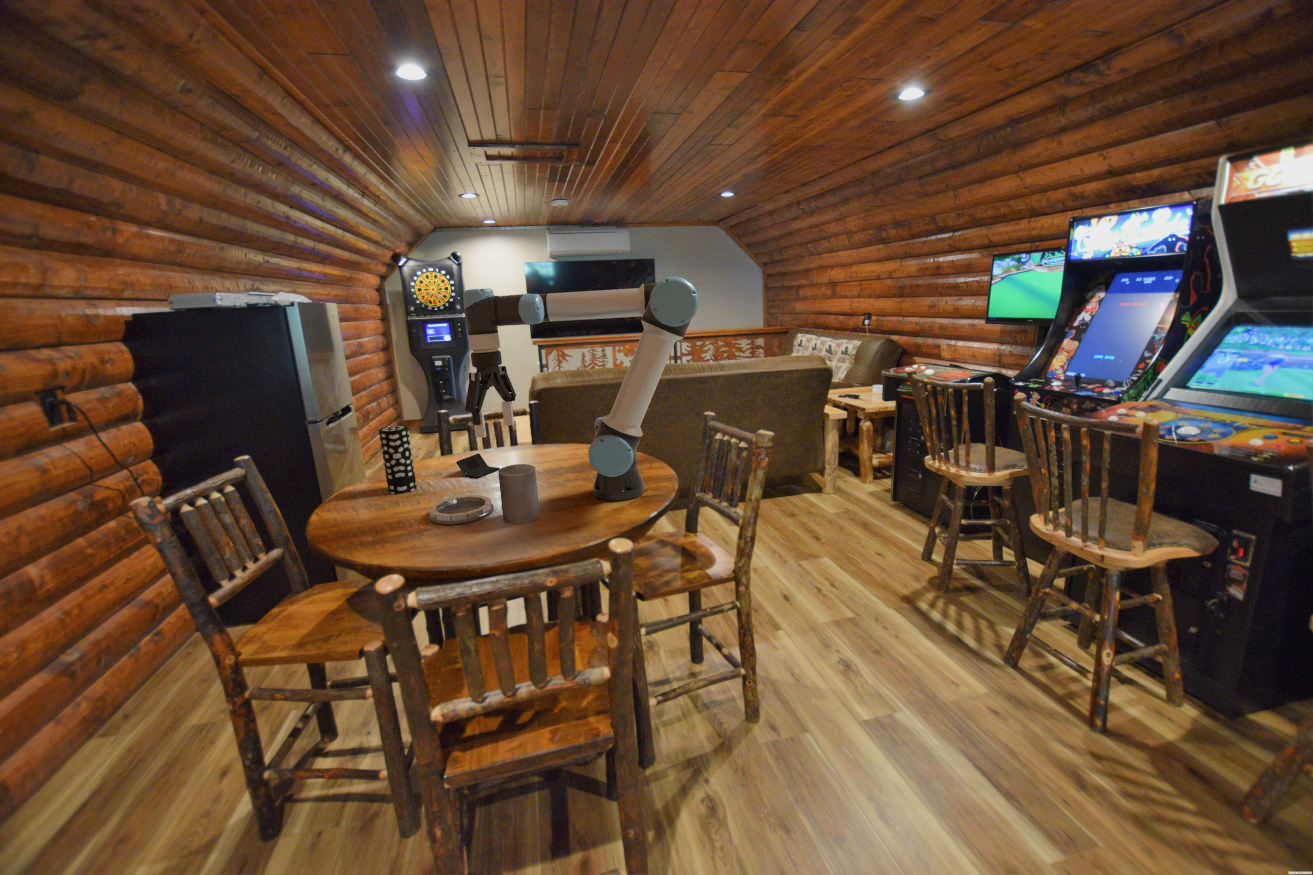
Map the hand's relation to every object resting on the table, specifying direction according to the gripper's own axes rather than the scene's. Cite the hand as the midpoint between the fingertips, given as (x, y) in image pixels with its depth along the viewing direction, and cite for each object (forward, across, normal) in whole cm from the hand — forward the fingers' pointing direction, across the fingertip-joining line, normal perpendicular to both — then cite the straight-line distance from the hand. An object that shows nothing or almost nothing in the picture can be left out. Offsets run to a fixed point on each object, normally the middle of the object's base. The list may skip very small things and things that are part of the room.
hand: (495, 430), depth 154 cm
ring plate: (+23, +3, -12) cm, 26 cm away
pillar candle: (+24, +2, +6) cm, 25 cm away
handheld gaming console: (+23, -32, -30) cm, 50 cm away
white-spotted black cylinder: (+23, -12, -45) cm, 51 cm away
